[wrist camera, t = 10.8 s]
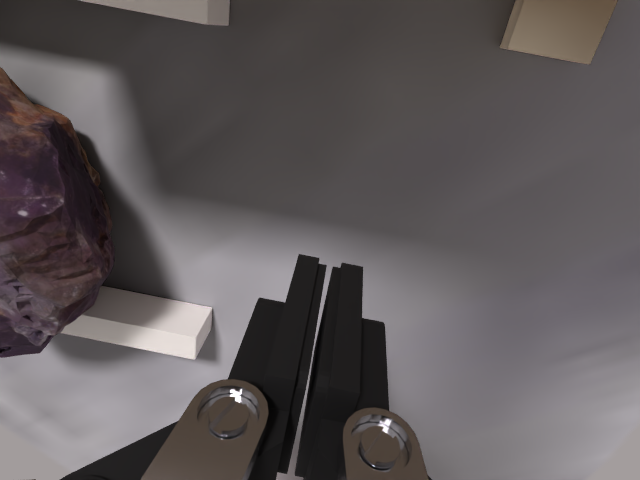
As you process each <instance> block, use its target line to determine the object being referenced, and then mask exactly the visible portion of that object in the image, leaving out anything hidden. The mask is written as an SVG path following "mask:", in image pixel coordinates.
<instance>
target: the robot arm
mask: <svg viewBox="0 0 640 480" xmlns="http://www.w3.org/2000/svg"><path fill="white" fill-rule="evenodd" d="M318 263H319V258H316V257H311V256H306V255H301V254H299V256H298V260H297V263H296V267H295V270H294V274H293V277H292V281H291V284H290V288H289V291H288V295H287V299H286V302H285V303H284V302H279V301H274V300H269V299H264V298H259V299H258V301H257V303H256V306H255V309H254V311H253V314H252V317H251V319H250V322H249V324H248V327H247V330H246V332H245V335H244V338H243V340H242V343H241V346H240V348H239V351H238V354H237V356H236V359H235V361H234V364H233V367H232V369H231V372H230V375H229V377H228V379H227V380H220V381H217V382H214V383H211V384H209V385H208V386H206V387H204V388H203V389H201V390H200V391H199V392H198V394H197V395H196V396H195V397H194V398H193V399H192V401H191V403H190V404H189V406H188V407H187V409H186V410H185V412H184V413H183V415H182V416H181V418H180V420H179V421H177V422H175V423H173V424H171V425H169V426H167V427H165V428H163V429H161V430H159V431H157V432H154V433H152V434H150V435H148V436H146V437H144V438H142V439H140V440H138V441H136V442H134V443H132V444H130V445H128V446H126V447H124V448H122V449H120V450H118V451H116V452H114V453H112V454H110V455H108V456H105V457H103V458H101V459H99V460H97V461H95V462H93V463H91V464H89V465H87V466H85V467H83V468H81V469H79V470H77V471H75V472H73V473H71V474H69V475H67V476H65V477H63V478H62V479H60V480H276V476H277V472H279V473H284V474H287V472H288V467H289V463H290V458H291V454H292V449H293V444H294V440H295V435H296V431H297V426H298V422H299V417H300V413H301V408H302V404H303V399H304V395H305V390H306V385H307V380H308V375H309V369H310V363H311V357H312V351H313V345H314V339H315V332H316V326H317V320H318V314H319V308H320V302H321V296H322V290H323V284H324V278H325V272H326V265H323V264H318ZM362 288H363V267H361V266H356V265H351V264H346V263H342V265H341V268H338V267H333V268H332V273H331V277H330V282H329V286H328V291H327V295H326V300H325V304H324V309H323V313H322V318H321V322H320V327H319V331H318V336H317V340H316V345H315V351H314V356H313V363H312V369H311V375H310V381H309V388H308V394H307V400H306V407H305V413H304V419H303V426H302V432H301V438H300V444H299V451H298V457H297V463H296V470H295V476H299V477H304V479H303V480H432V479H431V478H430V477H429V476H428V475H427V471H426V468H425V464H424V460H423V456H422V453H421V449H420V445H419V442H418V440H417V437H416V435H415V433H414V431H413V430H412V429H411V427H410V426H409V425H408V424H407V422H405V421H404V420H403V419H402V418H400V417H399V416H398V415H396V414H394V413H392V412H390V411H389V400H388V379H387V359H386V338H385V324H384V323H383V322H379V321H374V320H369V319H364V318H362ZM34 480H36V479H34Z"/></svg>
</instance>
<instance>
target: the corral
mask: <svg viewBox="0 0 640 480" xmlns="http://www.w3.org/2000/svg"><path fill="white" fill-rule="evenodd" d="M79 1H85V2H90V3H95V4H100V5H106V6H111V7H116V8H121V9H127V10H132V11H137V12H142V13H148V14H153V15H158V16H163V17H169V18H174V19H179V20H184V21H190V22H195V23H200V24H205V25H223V26H229V9H230V0H79ZM211 324H212V307H207V306H201V305H196V304H191V303H186V302H181V301H176V300H171V299H166V298H161V297H156V296H151V295H146V294H141V293H136V292H131V291H126V290H121V289H116V288H111V287H106V286H101V287H100V290H99V294H98V296H97V299H96V301H95V303H94V305H93V306H92V307H91V308H90V309H88V310H87V311H86V312H84V313H83V314H82V315H81V316H79V317H78V318H77V319H76V320H75V321H73V322H72V323H70V324H68V325H67V326H65V327H64V329H63V330H62V332H61V333H63V334H68V335H73V336H78V337H83V338H88V339H93V340H98V341H103V342H108V343H113V344H118V345H123V346H128V347H133V348H138V349H143V350H149V351H154V352H159V353H164V354H169V355H174V356H179V357H184V358H189V359H194V360H195V359H196V357H197V355H198V353H199V351H200V349H201V347H202V346H203V344H204V342H205V340H206V338H207V336H208V334H209V332H210V330H211Z"/></svg>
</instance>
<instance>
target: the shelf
mask: <svg viewBox="0 0 640 480" xmlns="http://www.w3.org/2000/svg"><path fill="white" fill-rule="evenodd" d="M617 1H618V0H516V1H515V4H514V6H513V9H512V12H511V15H510V18H509V21H508V24H507V27H506V30H505V33H504V36H503V39H502V42H501V45H500V48H502V49H508V50H513V51H518V52H523V53H529V54H534V55H539V56H545V57H550V58H555V59H560V60H566V61H571V62H576V63H583V64H589V65H590V63H591V61H592V59H593V56H594V54H595V52H596V49H597V47H598V45H599V43H600V40H601V38H602V36H603V33H604V31H605V29H606V27H607V24H608V22H609V20H610V17H611V15H612V13H613V11H614V8H615V6H616V4H617Z"/></svg>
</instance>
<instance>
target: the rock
mask: <svg viewBox="0 0 640 480" xmlns="http://www.w3.org/2000/svg"><path fill="white" fill-rule="evenodd" d="M99 185H100V176H99V173H98V172H97V171H96V170H95V169H94V168H93V167H92V166H91V165H90V164H89V162H88V161H87V155H86V151H85V150H84V149H83V148H82V147H81V144H80V142H79V139H78V137H77V134H76V132H75V130H74V128H73V125H72V123H71V121H70V120H69V119H68V118H67V117H65V116H64V115H62V114H60V113H58V112H56V111H53V110H51V109H49V108H46V107H43V106H41V105H38V104H36V105H34V104H33V103H31V102H30V101H29V100H28V99H27V97H26V96H25V94H24V93H23V92H22V91H21V90H20V88H19V87H18V86H17V85H16V84H15V83H14V82H13V81H12V79H10V78H9V76H8V75H7V74H6V72H5V71H4V70H3V69H2V68H1V67H0V357H10V356H17V355H24V354H36V353H40V352H41V351H42V350H43V349H44V348H45V347H46V346H47V344H48V343H49V341H50V340H51V339H52V337H53V336H54V335H56V334H58V333H61V332H62V330H63V329H64V327H65V326H67V325H68V324H70V323H72V322H73V321H75V320H76V319H77V318H78V317H79V316H81V315H82V314H83V313H84V312H86V311H87V310H88V309H90V308H91V307H92V306H93V305H94V303H95V301H96V299H97V296H98V294H99V290H100V287H101V285H102V284H103V282H104V281H105V280H106V279H107V277H108V276H109V274H110V273H111V270H112V267H113V265H114V262H115V248H114V245H113V242H112V239H111V236H110V232H111V229H112V221H111V216H110V212H109V206H108V204H107V202H106V201H105V198H104V195H103V192H102V191H101V190H100V189H99V188H98V186H99Z"/></svg>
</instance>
